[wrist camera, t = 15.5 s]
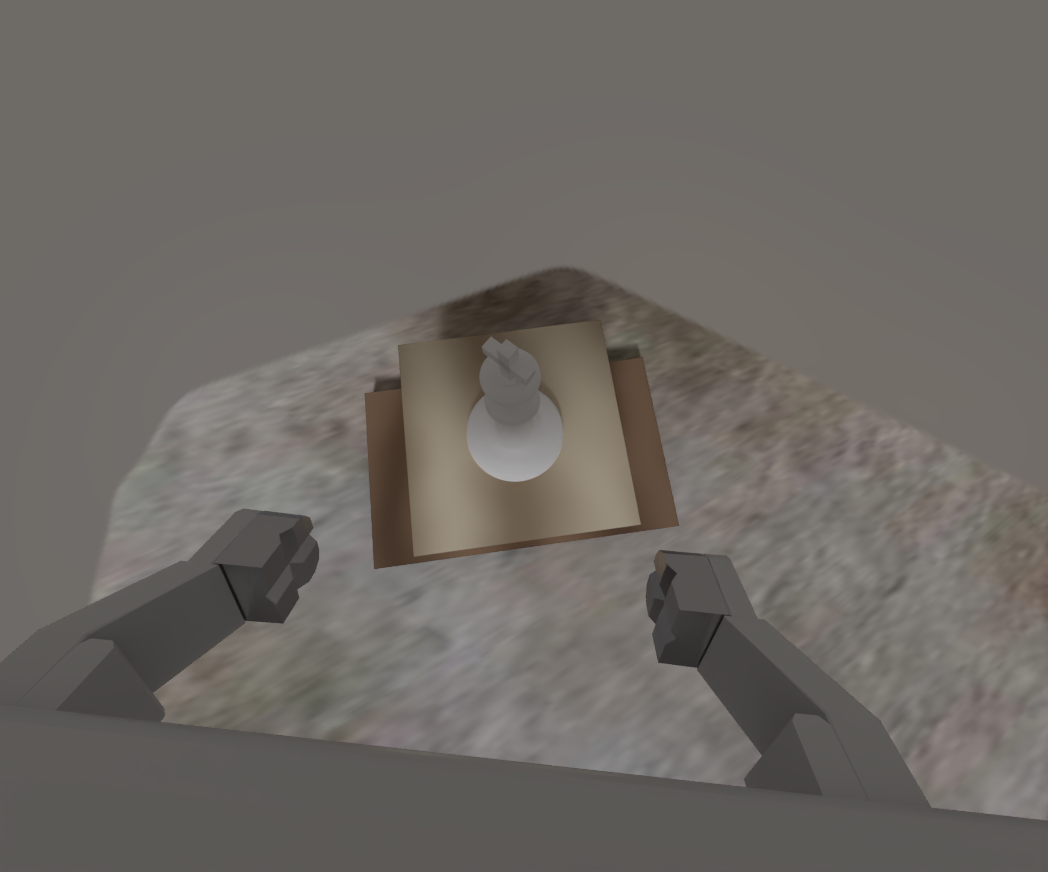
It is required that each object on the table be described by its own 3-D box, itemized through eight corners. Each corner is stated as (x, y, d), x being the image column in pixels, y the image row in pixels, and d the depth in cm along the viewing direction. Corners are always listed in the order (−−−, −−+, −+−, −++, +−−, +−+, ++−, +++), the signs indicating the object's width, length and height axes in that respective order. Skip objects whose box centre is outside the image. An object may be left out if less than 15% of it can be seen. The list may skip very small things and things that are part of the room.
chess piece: (508, 369, 22) (496, 241, 13) (582, 426, 22) (630, 336, 12) (446, 440, 21) (382, 361, 12) (522, 502, 21) (520, 472, 11)
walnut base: (637, 365, 32) (679, 301, 23) (671, 526, 29) (734, 522, 20) (372, 399, 31) (313, 347, 23) (381, 567, 29) (319, 581, 20)
